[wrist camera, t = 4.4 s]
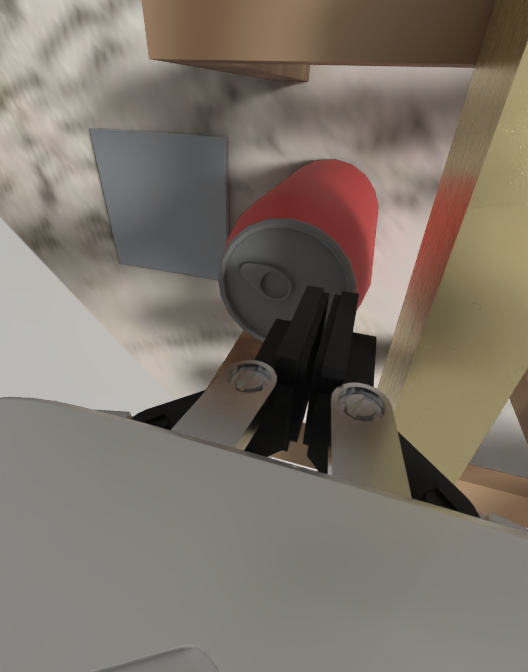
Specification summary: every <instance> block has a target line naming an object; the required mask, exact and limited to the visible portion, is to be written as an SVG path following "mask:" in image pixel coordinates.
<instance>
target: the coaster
mask: <svg viewBox="0 0 528 672" xmlns="http://www.w3.org/2000/svg"><path fill="white" fill-rule="evenodd" d="M89 129H90V134H91V138H92V143H93V147H94V152H95V156H96V161H97V165H98V170H99V174H100V179H101V183H102V187H103V192H104V196H105V201H106V205H107V210H108V214H109V219H110V223H111V228H112V232H113V237H114V241H115V246H116V250H117V255H118V259H119V264H125V265H131V266H136V267H142V268H148V269H154V270H160V271H166V272H172V273H178V274H184V275H190V276H196V277H202V278H208V279H214V280H218V272H219V266H220V260H221V257H222V255H223V253H224V251H225V249H226V243H227V240H228V238H229V235H230V234H229V196H228V157H227V137H221V136H206V135H192V134H177V133H163V132H148V131H134V130H119V129H105V128H89Z"/></svg>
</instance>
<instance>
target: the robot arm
mask: <svg viewBox="0 0 528 672" xmlns="http://www.w3.org/2000/svg"><path fill="white" fill-rule="evenodd" d="M329 296H330V293H324V288H321V287H315V286H308V285H307V287H306V289H305V292H304V294H303V296H302V298H301V300H300V302H299V305H298V307H297V309H296V311H295V313H294V316H293V318H292V320H291V321H288V320H283V319H278V318H277V319H276V320H275V321H274V323H273V325H272V327H271V329H270V331H269V333H268V335H267V337H266V338H265V340H264V342H263V344H262V346H261V348H260V350H259V352H258V354H257V355H256V357H255V359H254V360H243V361H238V362H235V363H233V364H231V365H230V366H228V367H227V368H226V369H225V370H224V371H223V372H222V373H221V374H220V375H219V377H218V378H217V379H216V380H215V381H214V382H213V383H212V384H211V385H210V387H209V388H208V389H207V390H204V391H201V392H198V393H195V394H192V395H189V396H186V397H183V398H180V399H177V400H174V401H171V402H168V403H165V404H162V405H159V406H156V407H153V408H150V409H146V410H144V411H143V412H140V413H138V414H137V415H135V416H131V414H130V412H123V411H106V410H92V409H88V408H84V407H80V406H75V405H71V404H66V403H61V402H57V401H50V400H43V399H36V398H21V397H3V398H0V672H528V529H527V528H525V527H522V526H520V525H518V524H516V523H514V522H512V521H509V520H507V519H505V518H503V517H501V516H499V515H497V514H494V513H492V512H490V511H489V513H488V514H487V515H484V514H482V513H480V512H478V511H477V510H476V509H475V507H474V505H473V504H472V503H471V502H470V500H469V499H468V498H467V497H466V496H465V495H464V494H463V493H462V492H461V491H460V490H459V489H458V488H457V487H456V486H455V485H454V484H453V483H452V482H451V481H450V480H449V479H447V478H446V477H445V476H444V475H443V474H442V473H441V472H440V471H439V470H438V469H437V468H436V467H435V466H434V465H433V464H432V463H431V462H430V461H429V460H428V459H427V458H425V457H424V456H423V455H422V454H421V453H420V452H419V451H418V450H417V449H416V448H415V447H414V446H413V445H412V444H411V443H410V442H409V441H408V440H407V439H406V438H405V437H404V436H402V435H401V434H400V433H399V432H398V431H397V427H396V422H395V417H394V413H393V408H392V405H391V403H390V400H389V399H388V398H387V397H386V396H385V394H384V393H382V392H381V391H379V390H378V389H377V388H374V387H373V386H374V370H375V354H376V337H375V336H370V335H364V334H359V333H353V327H354V321H355V315H356V310H357V304H358V298H359V293H352V292H346V291H342V294H341V295H337V294H335V295H334V298H333V302H332V305H331V308H330V312H329V315H328V319H327V322H326V315H327V309H328V302H329ZM325 322H326V326H325ZM324 328H325V329H324ZM308 402H309V403H308ZM307 405H308V410H307V417H306V424H305V430H304V437H303V444H304V445H308V451H307V457H308V458H309V459H310V461H311V462H312V464H313V465H314V466H315V468H316V469H317V471H314V470H311V469H307V468H304V467H300V466H297V465H293V464H289V463H286V462H282V461H279V460H275V459H272V455H273V454H275V453H277V452H280V451H286V452H288V448H289V445H290V441H293V442H296V443H297V441H298V438H299V434H300V431H301V427H302V424H303V420H304V416H305V413H306V409H307Z"/></svg>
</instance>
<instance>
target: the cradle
mask: <svg viewBox="0 0 528 672" xmlns="http://www.w3.org/2000/svg"><path fill="white" fill-rule="evenodd" d="M494 3H495V0H142V6H143V14H144V22H145V30H146V38H147V46H148V54H149V59H153V60H158V61H164V62H170V63H176V64H182V65H188V66H194V67H199V68H205V69H211V70H217V71H223V72H229V73H235V74H241V75H246V76H252V77H258V78H264V79H270V80H284V81H308V80H309V68H310V65H352V66H406V67H460V68H475V66H476V63H477V59H478V56H479V53H480V49H481V46H482V43H483V40H484V36H485V33H486V30H487V26H488V23H489V20H490V17H491V13H492V10H493V7H494ZM262 344H263V341H260V340H258V339H256V338H255V337H254V336H252V335H251V334H249V333H248V332H246V331H245V330H244V331H243V332H242V334H241V335H240V337H239V339H238V340H237V342H236V343H235V345H234V347H233V348H232V350H231V351H230V353H229V354H228V356H227V358H226V359H225V361H224V362H223V364H222V366H221V367H220V369H219V370H218V372H217V373H216V375H215V377H214V378H213V380H212V381H211V383H210V385H211V384H212V383H213V382H214V381H215V380H216V379H217V378H218V377H219V375H220V374H221V373H222V372H223V371H224V370H225V369H226V368H227V367H228V366H230V365H231V364H233V363H235V362H238V361H243V360H254V359H255V357H256V355H257V354H258V352H259V350H260V348H261V346H262ZM210 385H209V386H208V388H209V387H210ZM208 388H207V389H208ZM207 389H206V390H207ZM509 398H510V401H511V403H512V406H513V408H514V411H515V413H516V416H517V418H518V421H519V423H520V426H521V428H522V431H523V433H524V436H525V438H526V441H527V443H528V368H527V370H526V372H525V373H524V375H523V376H522V378H521V380H520V381H519V383H518V385H517V386H516V388H515V389H514V391H513V393H512V394H511V396H510V397H509ZM305 424H306V423H303V424H302V427H301V431H300V434H299V438H298V441H297V443H296V442H293V441H290V445H289V448H288V452H286V451H280V452H277V453H275V454H273V455H272V457H274V458H277V459H281V460H284V461H288V462H292V463H295V464H299V465H302V466H306V467H310V468H313V469H316V468H315V466H314V465H313V464H312V462H311V461H310V459H309V458H308V457H307V451H308V445H304V444H303V437H304V430H305ZM455 486H456V487H457V488H458V489H459V490H460V491H461V492H462V493H463V494H464V495H465V496H466V497H467V498H468V499H469V500H470V502H471V503H472V504H473V505H474V507H475V509H476V510H477V511H478V512H480V513H482V514H484V515H487V514H488V513H489V511H490V512H492V513H494V514H497V515H499V516H501V517H503V518H505V519H507V520H509V521H512V522H514V523H516V524H518V525H520V526H522V527H525V528H528V479H526V478H522V477H518V476H514V475H510V474H506V473H502V472H498V471H494V470H490V469H486V468H482V467H478V466H474V465H470V464H468V465H467V467H466V468H465V470H464V472H463V473H462V475H461V476H460V478H459V480H458V481H457V483H456V485H455Z"/></svg>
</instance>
